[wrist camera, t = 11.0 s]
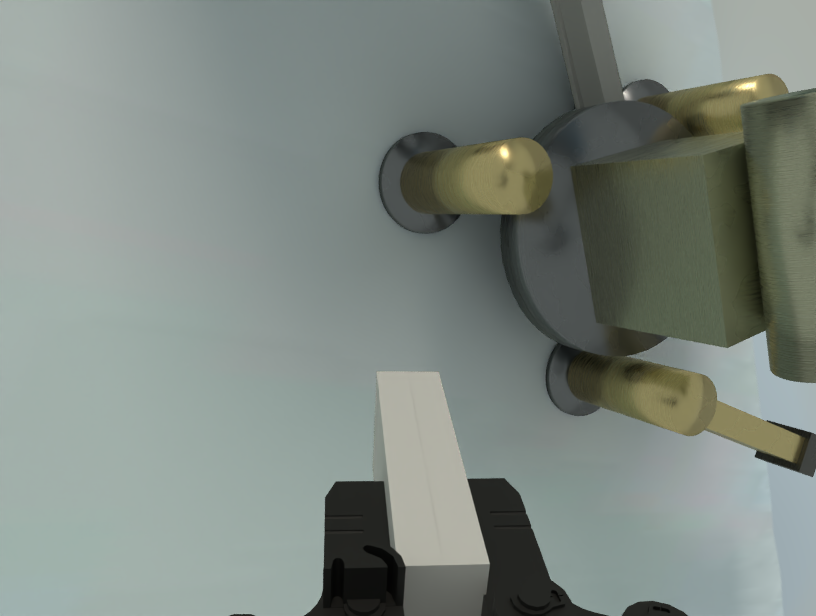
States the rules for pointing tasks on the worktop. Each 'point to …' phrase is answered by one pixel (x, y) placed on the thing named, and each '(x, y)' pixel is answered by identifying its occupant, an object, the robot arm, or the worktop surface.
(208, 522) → the worktop surface
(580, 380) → the lever
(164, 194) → the worktop surface
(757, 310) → the surveying level
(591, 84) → the adjustable wrench
